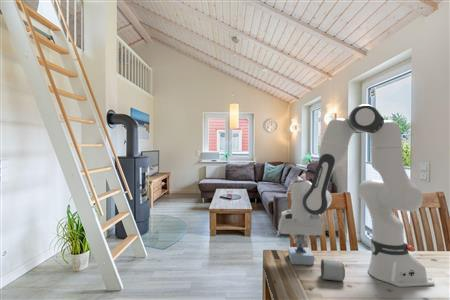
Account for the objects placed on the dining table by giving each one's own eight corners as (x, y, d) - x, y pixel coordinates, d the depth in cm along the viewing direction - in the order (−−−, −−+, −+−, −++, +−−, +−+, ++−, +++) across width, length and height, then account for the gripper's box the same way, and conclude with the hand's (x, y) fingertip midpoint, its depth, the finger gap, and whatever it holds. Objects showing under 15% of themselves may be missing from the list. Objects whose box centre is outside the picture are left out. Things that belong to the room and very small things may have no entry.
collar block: (309, 255, 128) (309, 247, 128) (313, 264, 118) (313, 255, 118) (288, 254, 129) (288, 246, 129) (291, 263, 119) (291, 255, 119)
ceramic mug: (346, 284, 101) (345, 264, 101) (323, 282, 102) (323, 263, 102) (338, 272, 111) (338, 254, 111) (318, 271, 113) (318, 253, 113)
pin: (302, 249, 125) (302, 232, 125) (304, 251, 122) (304, 234, 122) (296, 249, 125) (296, 232, 125) (297, 251, 122) (297, 234, 122)
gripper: (321, 213, 126) (321, 242, 126) (278, 212, 128) (277, 240, 128) (325, 216, 119) (324, 246, 119) (279, 215, 121) (279, 244, 121)
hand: (300, 243), depth 124 cm, fingers closed on pin, 3 cm apart
